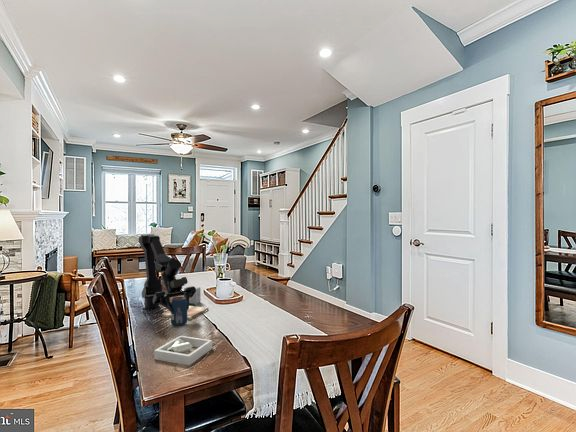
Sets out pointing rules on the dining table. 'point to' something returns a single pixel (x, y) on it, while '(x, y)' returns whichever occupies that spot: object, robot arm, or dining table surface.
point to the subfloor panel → (189, 312)
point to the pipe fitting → (180, 347)
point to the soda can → (179, 311)
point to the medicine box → (195, 296)
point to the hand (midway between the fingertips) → (180, 310)
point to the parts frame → (180, 358)
